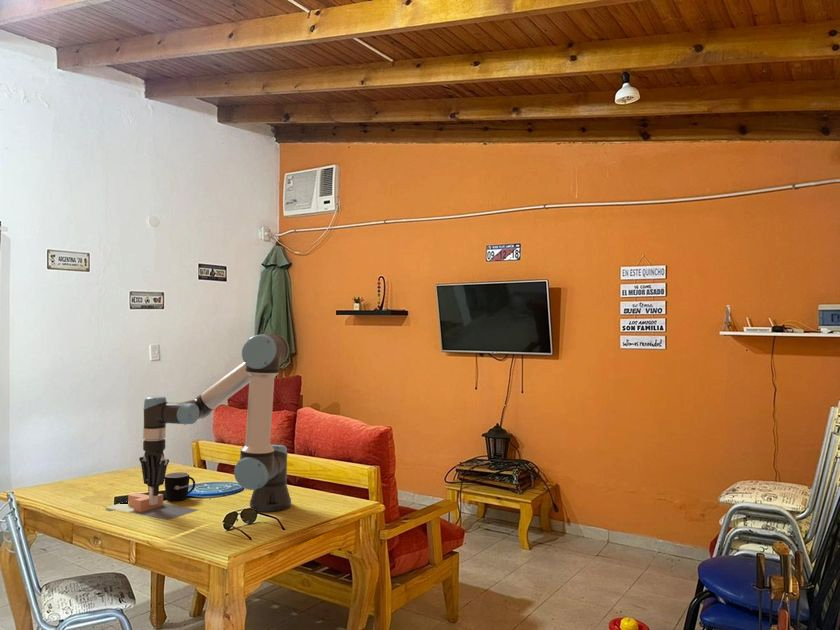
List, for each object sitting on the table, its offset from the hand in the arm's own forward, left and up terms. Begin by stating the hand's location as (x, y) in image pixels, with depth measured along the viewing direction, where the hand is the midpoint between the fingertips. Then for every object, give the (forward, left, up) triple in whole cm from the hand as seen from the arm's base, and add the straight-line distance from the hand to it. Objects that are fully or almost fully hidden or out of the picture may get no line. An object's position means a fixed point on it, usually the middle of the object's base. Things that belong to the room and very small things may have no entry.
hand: (153, 504), depth 234 cm
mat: (+1, 0, -3) cm, 3 cm away
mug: (+3, -15, -3) cm, 16 cm away
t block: (+6, 0, -2) cm, 6 cm away
